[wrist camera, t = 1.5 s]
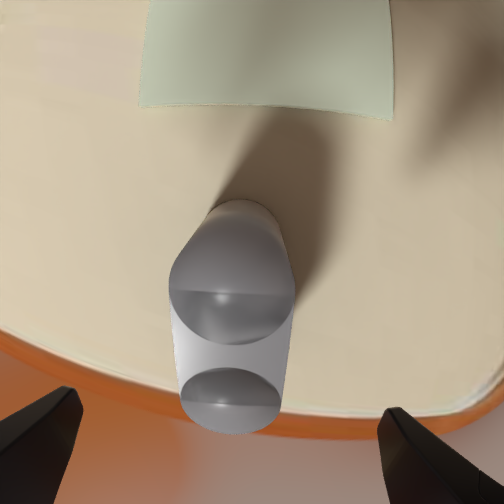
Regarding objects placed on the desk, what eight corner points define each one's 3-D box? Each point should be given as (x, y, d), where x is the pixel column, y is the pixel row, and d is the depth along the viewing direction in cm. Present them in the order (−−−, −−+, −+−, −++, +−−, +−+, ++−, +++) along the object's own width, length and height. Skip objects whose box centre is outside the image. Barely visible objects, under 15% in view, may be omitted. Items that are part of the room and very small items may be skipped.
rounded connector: (283, 201, 15) (301, 233, 9) (269, 379, 18) (272, 456, 12) (200, 197, 15) (165, 228, 9) (204, 376, 18) (188, 451, 12)
